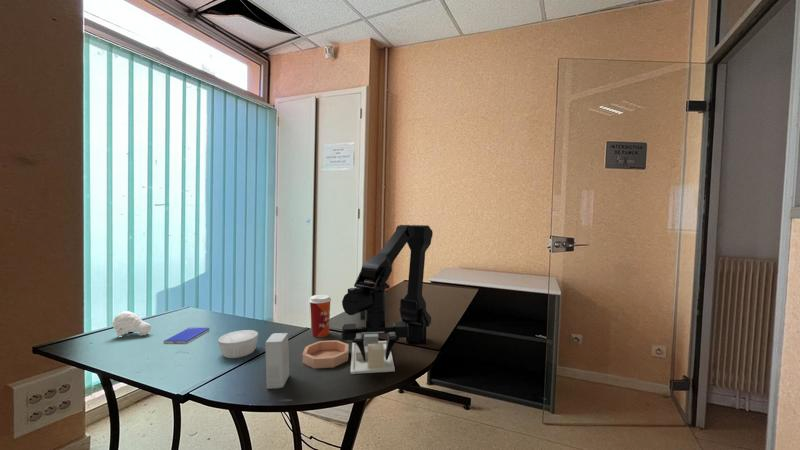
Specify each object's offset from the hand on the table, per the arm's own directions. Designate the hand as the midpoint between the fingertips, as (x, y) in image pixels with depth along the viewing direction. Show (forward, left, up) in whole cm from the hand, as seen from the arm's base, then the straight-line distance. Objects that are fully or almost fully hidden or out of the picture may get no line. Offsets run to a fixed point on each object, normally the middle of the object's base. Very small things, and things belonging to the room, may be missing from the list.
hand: (375, 360), depth 94 cm
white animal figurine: (+86, -34, -2) cm, 92 cm away
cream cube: (0, 0, -1) cm, 1 cm away
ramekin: (+43, -14, -2) cm, 45 cm away
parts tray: (+1, -5, -2) cm, 5 cm away
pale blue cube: (+1, -10, -1) cm, 10 cm away
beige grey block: (+4, -5, -1) cm, 6 cm away
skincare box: (+26, +7, -2) cm, 26 cm away
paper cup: (+19, -25, -2) cm, 32 cm away
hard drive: (+66, -31, -2) cm, 72 cm away
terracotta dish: (+15, -6, -2) cm, 16 cm away
